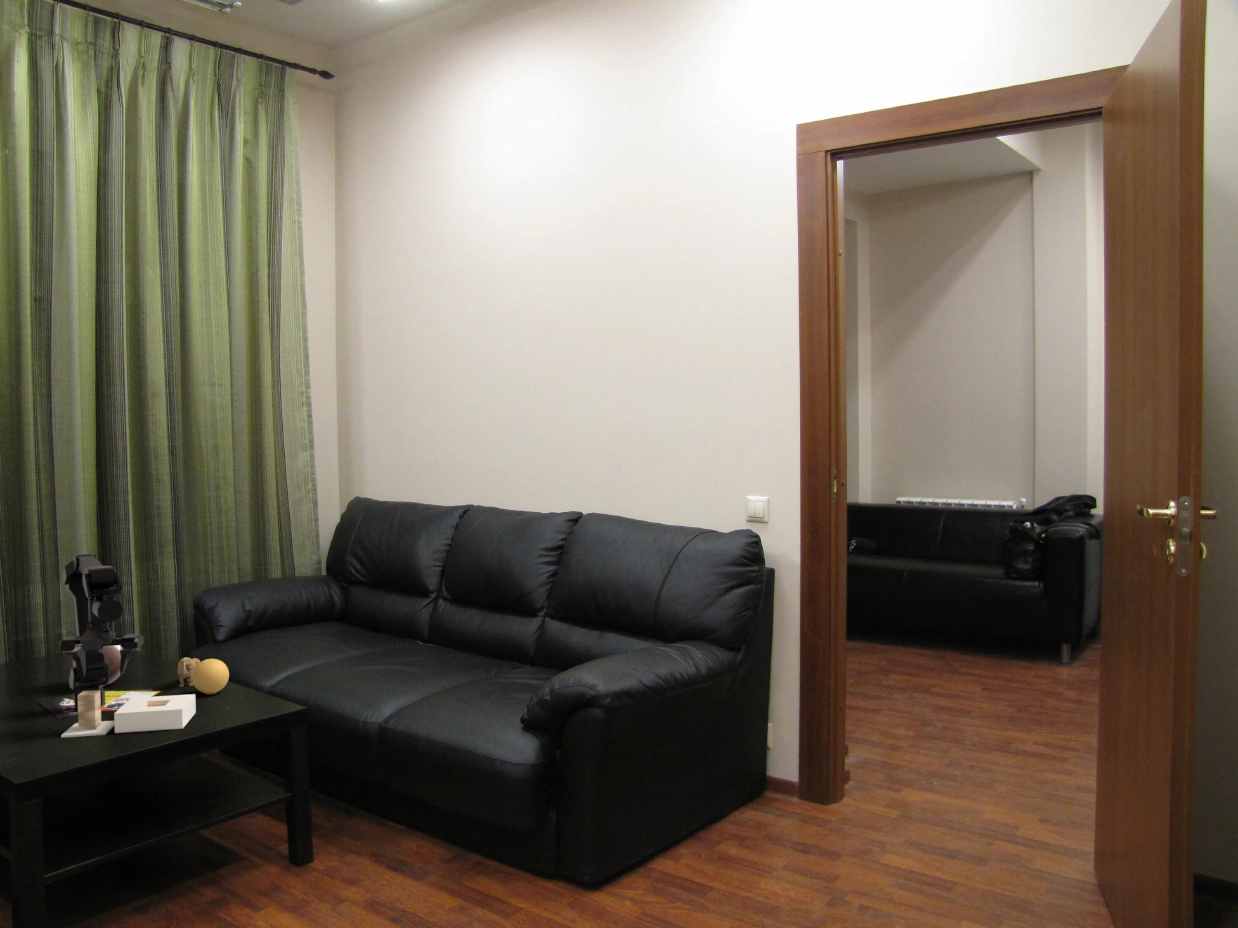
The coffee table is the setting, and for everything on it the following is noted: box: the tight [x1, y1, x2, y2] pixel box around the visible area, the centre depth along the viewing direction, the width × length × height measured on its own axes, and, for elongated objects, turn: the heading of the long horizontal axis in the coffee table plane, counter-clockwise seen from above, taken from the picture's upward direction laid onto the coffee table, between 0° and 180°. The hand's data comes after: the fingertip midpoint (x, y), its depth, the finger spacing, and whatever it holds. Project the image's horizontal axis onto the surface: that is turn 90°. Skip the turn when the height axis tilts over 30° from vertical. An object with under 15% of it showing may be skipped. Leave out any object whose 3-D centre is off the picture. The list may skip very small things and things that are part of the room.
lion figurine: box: [176, 657, 202, 688], centre depth 286 cm, size 15×5×9 cm, turn 11°
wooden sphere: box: [68, 645, 123, 687], centre depth 283 cm, size 15×15×15 cm
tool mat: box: [60, 720, 115, 739], centre depth 241 cm, size 10×10×1 cm
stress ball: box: [192, 658, 230, 696], centre depth 274 cm, size 10×10×10 cm
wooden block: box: [77, 690, 102, 731], centre depth 241 cm, size 4×4×9 cm
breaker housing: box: [113, 693, 197, 734], centre depth 247 cm, size 16×14×5 cm
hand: (102, 675), depth 246 cm, fingers open, 9 cm apart
